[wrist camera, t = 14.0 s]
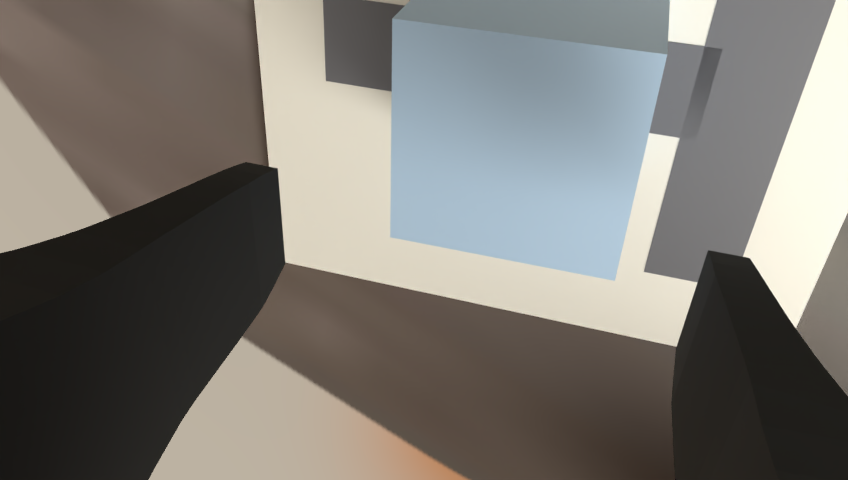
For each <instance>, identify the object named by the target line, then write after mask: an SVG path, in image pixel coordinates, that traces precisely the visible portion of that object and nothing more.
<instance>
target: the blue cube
mask: <svg viewBox="0 0 848 480" xmlns="http://www.w3.org/2000/svg"><path fill="white" fill-rule="evenodd" d="M669 10H670V0H410V1H409V2H408V3H407V4H406V5H405V6H404V7H403V8H402V9H401V10H400V11H399V12H398V13H397V14H396V15H395V16H394V17H393V18H392V101H391V207H390V237H391V238H397V239H402V240H407V241H412V242H417V243H422V244H427V245H433V246H438V247H443V248H448V249H453V250H458V251H463V252H469V253H474V254H479V255H484V256H489V257H494V258H500V259H505V260H510V261H515V262H520V263H525V264H530V265H536V266H541V267H546V268H551V269H556V270H561V271H566V272H572V273H577V274H582V275H587V276H592V277H597V278H603V279H608V280H613V281H615V278H616V274H617V269H618V265H619V261H620V256H621V252H622V248H623V244H624V239H625V235H626V231H627V226H628V222H629V218H630V213H631V209H632V205H633V200H634V196H635V192H636V188H637V183H638V179H639V175H640V170H641V166H642V162H643V157H644V153H645V149H646V144H647V140H648V136H649V132H650V127H651V123H652V119H653V114H654V110H655V106H656V101H657V97H658V93H659V88H660V84H661V80H662V76H663V71H664V67H665V63H666V58H667V52H668V31H669Z"/></svg>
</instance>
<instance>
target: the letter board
mask: <svg viewBox="0 0 848 480" xmlns="http://www.w3.org/2000/svg"><path fill="white" fill-rule="evenodd" d="M409 1H410V0H254V4H255V15H256V26H257V37H258V49H259V60H260V71H261V82H262V93H263V104H264V115H265V127H266V138H267V149H268V160H269V167H273V168H278V178H279V190H280V203H281V215H282V228H283V240H284V253H285V262H286V263H290V264H295V265H300V266H304V267H309V268H314V269H318V270H323V271H328V272H332V273H337V274H342V275H346V276H351V277H355V278H360V279H365V280H369V281H374V282H379V283H383V284H388V285H393V286H397V287H402V288H407V289H411V290H416V291H420V292H425V293H430V294H434V295H439V296H444V297H448V298H453V299H458V300H462V301H467V302H472V303H476V304H481V305H485V306H490V307H495V308H499V309H504V310H509V311H513V312H518V313H523V314H527V315H532V316H537V317H541V318H546V319H550V320H555V321H560V322H564V323H569V324H574V325H578V326H583V327H588V328H592V329H597V330H602V331H606V332H611V333H615V334H620V335H625V336H629V337H634V338H639V339H643V340H648V341H653V342H657V343H662V344H667V345H671V346H676V347H677V344H678V341H679V338H680V335H681V332H682V329H683V326H684V322H685V319H686V316H687V313H688V310H689V307H690V304H691V301H692V298H693V295H694V292H695V289H696V286H697V283H698V280H699V277H700V273H701V270H702V267H703V264H704V261H705V258H706V255H707V252H708V250H711V251H716V252H721V253H726V254H732V255H737V256H742V257H747V258H750V259H751V261H752V262H753V264H754V265H755V267H756V268H757V270H758V271H759V273H760V274H761V276H762V277H763V279H764V281H765V282H766V284H767V285H768V287H769V289H770V290H771V292H772V293H773V295H774V296H775V298H776V299H777V301H778V303H779V304H780V306H781V307H782V309H783V310H784V312H785V313H786V315H787V316H788V318H789V319H790V321H791V322H792V324H793V325H794V327H795V328H796V327H797V325H798V322H799V320H800V318H801V316H802V313H803V311H804V309H805V307H806V304H807V302H808V300H809V298H810V295H811V293H812V291H813V289H814V286H815V284H816V282H817V280H818V277H819V275H820V273H821V271H822V268H823V266H824V264H825V262H826V260H827V257H828V255H829V253H830V251H831V248H832V246H833V244H834V242H835V239H836V237H837V235H838V233H839V230H840V228H841V226H842V224H843V221H844V219H845V217H846V215H847V212H848V0H670V10H669V31H668V52H667V58H666V63H665V67H664V71H663V76H662V80H661V84H660V88H659V93H658V97H657V101H656V106H655V110H654V114H653V119H652V123H651V127H650V132H649V136H648V140H647V144H646V149H645V153H644V157H643V162H642V166H641V170H640V175H639V179H638V183H637V188H636V192H635V196H634V200H633V205H632V209H631V213H630V218H629V222H628V226H627V231H626V235H625V239H624V244H623V248H622V252H621V256H620V261H619V265H618V269H617V274H616V278H615V281H613V280H608V279H603V278H597V277H592V276H587V275H582V274H577V273H572V272H566V271H561V270H556V269H551V268H546V267H541V266H536V265H530V264H525V263H520V262H515V261H510V260H505V259H500V258H494V257H489V256H484V255H479V254H474V253H469V252H463V251H458V250H453V249H448V248H443V247H438V246H433V245H427V244H422V243H417V242H412V241H407V240H402V239H397V238H391V237H390V207H391V101H392V18H393V17H394V16H395V15H396V14H397V13H398V12H399V11H400V10H401V9H402V8H403V7H404V6H405V5H406V4H407V3H408V2H409Z"/></svg>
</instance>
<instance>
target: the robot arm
mask: <svg viewBox="0 0 848 480" xmlns="http://www.w3.org/2000/svg"><path fill="white" fill-rule="evenodd" d="M284 265H285V253H284V240H283V228H282V215H281V203H280V190H279V178H278V168H273V167H268V166H263V165H258V164H252V163H247V162H245V163H242V164H239V165H236V166H233V167H231V168H228V169H226V170H223V171H221V172H218V173H216V174H213V175H211V176H209V177H207V178H204V179H202V180H200V181H197V182H195V183H193V184H191V185H188V186H186V187H184V188H181V189H179V190H177V191H175V192H172V193H170V194H168V195H165V196H163V197H161V198H159V199H156V200H154V201H152V202H149V203H147V204H145V205H142V206H140V207H137V208H135V209H132V210H130V211H127V212H125V213H122V214H120V215H117V216H115V217H112V218H109V219H107V220H104V221H102V222H99V223H97V224H94V225H92V226H89V227H86V228H84V229H81V230H78V231H75V232H72V233H69V234H66V235H63V236H60V237H57V238H53V239H50V240H47V241H44V242H40V243H37V244H34V245H30V246H27V247H23V248H20V249H17V250H12V251H8V252H4V253H0V480H148V479H149V478H150V476H151V473H152V472H153V470H154V468H155V466H156V464H157V463H158V461H159V459H160V458H161V456H162V454H163V452H164V451H165V449H166V447H167V445H168V444H169V442H170V440H171V438H172V437H173V435H174V433H175V431H176V430H177V428H178V426H179V424H180V423H181V421H182V419H183V418H184V416H185V414H186V413H187V412H188V410H189V408H190V407H191V406H192V404H193V403H194V401H195V400H196V398H197V397H198V396H199V394H200V393H201V392H202V390H203V389H204V388H205V386H206V385H207V384H208V382H209V381H210V379H211V378H212V377H213V375H214V374H215V373H216V371H217V370H218V368H219V367H220V366H221V364H222V363H223V361H224V360H225V359H226V358H227V356H228V355H229V353H230V352H231V351H232V349H233V348H234V346H235V345H236V344H237V343H238V341H239V340H240V338H241V337H242V336H243V334H244V333H245V331H246V330H247V329H248V327H249V326H250V324H251V323H252V322H253V320H254V319H255V317H256V316H257V314H258V313H259V312H260V310H261V309H262V307H263V305H264V303H265V302H266V300H267V298H268V296H269V294H270V292H271V291H272V289H273V287H274V285H275V283H276V281H277V279H278V277H279V275H280V273H281V271H282V269H283V267H284ZM672 427H673V448H674V468H675V480H848V396H847V395H846V394H845V393H844V391H843V390H842V389H841V388H840V386H839V385H838V384H837V383H836V382H835V380H834V379H833V378H832V377H831V375H830V374H829V373H828V372H827V370H826V369H825V368H824V367H823V365H822V364H821V363H820V361H819V360H818V359H817V357H816V356H815V355H814V354H813V352H812V351H811V349H810V348H809V347H808V345H807V344H806V342H805V341H804V340H803V338H802V337H801V335H800V334H799V332H798V331H797V330H796V328H795V327H794V325H793V324H792V322H791V321H790V319H789V318H788V316H787V315H786V313H785V312H784V310H783V309H782V307H781V306H780V304H779V303H778V301H777V299H776V298H775V296H774V295H773V293H772V292H771V290H770V289H769V287H768V285H767V284H766V282H765V281H764V279H763V277H762V276H761V274H760V273H759V271H758V270H757V268H756V267H755V265H754V264H753V262H752V261H751V259H750V258H747V257H742V256H737V255H732V254H726V253H721V252H716V251H711V250H708V252H707V255H706V258H705V261H704V264H703V267H702V270H701V273H700V277H699V280H698V283H697V286H696V289H695V292H694V295H693V298H692V301H691V304H690V307H689V310H688V313H687V316H686V319H685V322H684V326H683V329H682V332H681V335H680V338H679V341H678V344H677V347H676V356H675V366H674V377H673V390H672Z"/></svg>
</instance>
